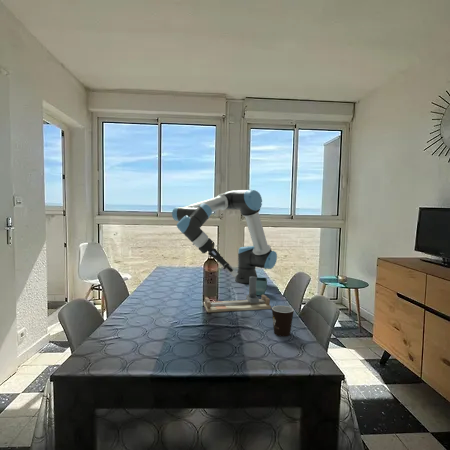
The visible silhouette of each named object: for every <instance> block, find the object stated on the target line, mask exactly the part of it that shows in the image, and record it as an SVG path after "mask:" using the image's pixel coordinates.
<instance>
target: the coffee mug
mask: <svg viewBox="0 0 450 450" xmlns="http://www.w3.org/2000/svg"><path fill="white" fill-rule="evenodd" d="M271 311H272V313H271V314H272V325H273V334H274V335H275V336H277V337H283V338H284V337H289V336H291V330H292V323H293V317H294V308H293V307H291V306H287V305H275V306H271Z"/></svg>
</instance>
